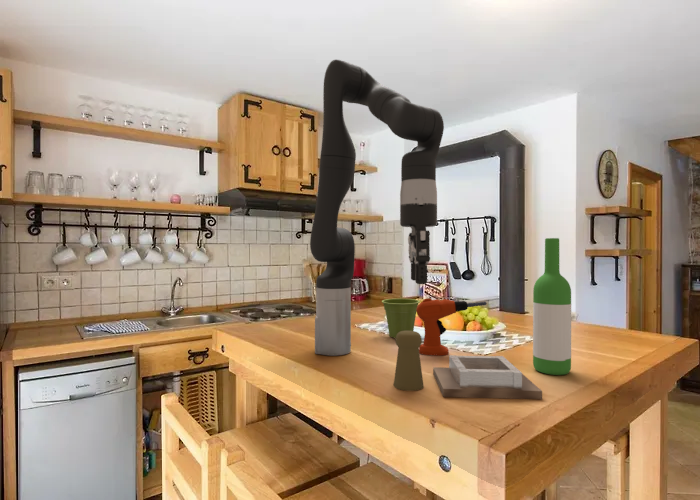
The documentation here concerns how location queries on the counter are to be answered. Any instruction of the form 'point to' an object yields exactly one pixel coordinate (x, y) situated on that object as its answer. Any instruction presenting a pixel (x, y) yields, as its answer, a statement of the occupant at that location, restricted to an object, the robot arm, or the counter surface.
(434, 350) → the toy drill
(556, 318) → the wine bottle
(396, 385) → the olive chess pawn
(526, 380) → the socket board
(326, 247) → the robot arm
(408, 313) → the plant pot
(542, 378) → the counter surface
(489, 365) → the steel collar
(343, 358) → the counter surface
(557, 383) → the counter surface
